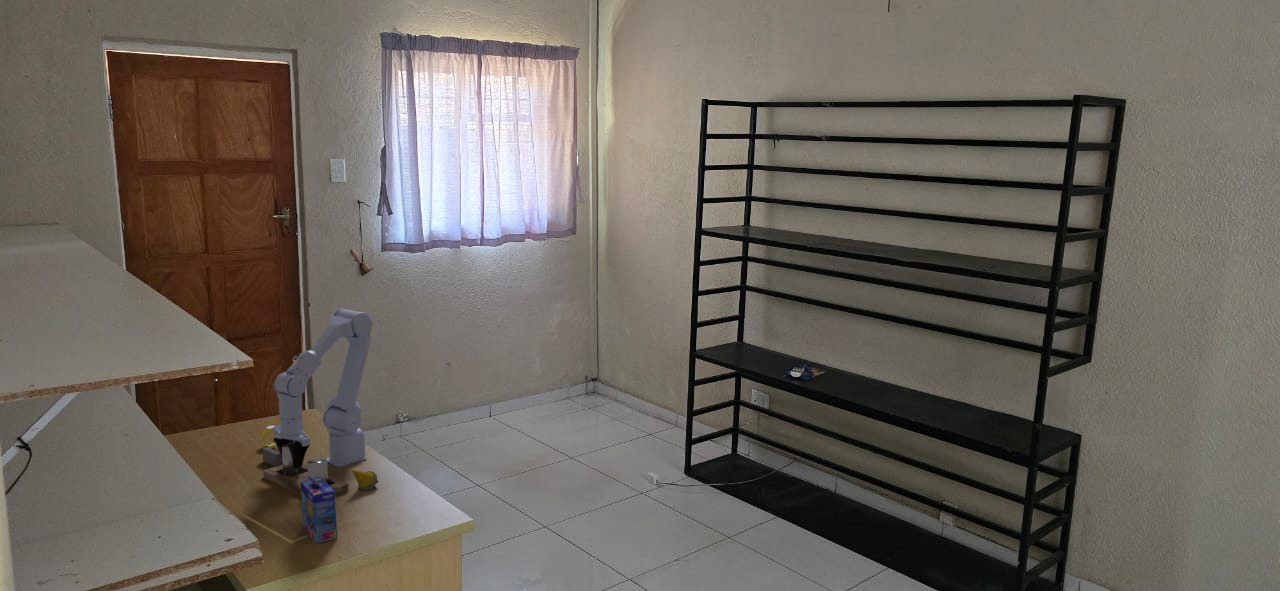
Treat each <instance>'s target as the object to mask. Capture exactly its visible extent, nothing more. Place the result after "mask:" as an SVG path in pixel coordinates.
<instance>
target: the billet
mask: <svg viewBox="0 0 1280 591" xmlns="http://www.w3.org/2000/svg"><path fill="white" fill-rule="evenodd" d="M307 465H308V480H311V479H310V478H309V476H310V477H311V478H312V479H316V478H320V477H321V478H323V479H324V480H325V481H326V482H327V484H328V475H329V472H328V471H329V470H328V462H327V460H326V459H325V458H323V457H322V458H320V457H319V458H312V459H310V460H308V461H307Z"/></svg>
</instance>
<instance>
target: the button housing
mask: <svg viewBox="0 0 1280 591" xmlns="http://www.w3.org/2000/svg"><path fill="white" fill-rule="evenodd" d="M275 446H276V445H273V446H269V447H267V446H266V447H262V462H263V463H265V464H268V465H269V466H271V467H272V468H273V467H276V466H280V465H283V462H282V458H281V455H280V452H278V451H275Z"/></svg>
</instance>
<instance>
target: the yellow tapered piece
mask: <svg viewBox="0 0 1280 591" xmlns="http://www.w3.org/2000/svg"><path fill="white" fill-rule="evenodd" d="M351 472H352V474H353V476H354V478H355V481H356V482H357V486H358V488H359V489H360V490H362V491H371V489H373V488H374V487H375V486H376V485H377V484H378V483H379V480H378V475H377V474H376V473H375V472H374V471H372V470H369V471H362V470H356V469H351Z"/></svg>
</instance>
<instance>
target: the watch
mask: <svg viewBox="0 0 1280 591" xmlns="http://www.w3.org/2000/svg"><path fill="white" fill-rule="evenodd" d="M275 426H276V425H275V424H274V425H268V426H266V428H265V429H264V431H263V432H262V433H261V435H260V436H261V437H260V438H261V442H262V445H264V446H266V447H269V446H273V445H276V444H275V442H274V443H270V444H267V443H266V442H265V436H266V435H267V433H269V432H272V431H273V427H275Z"/></svg>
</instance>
